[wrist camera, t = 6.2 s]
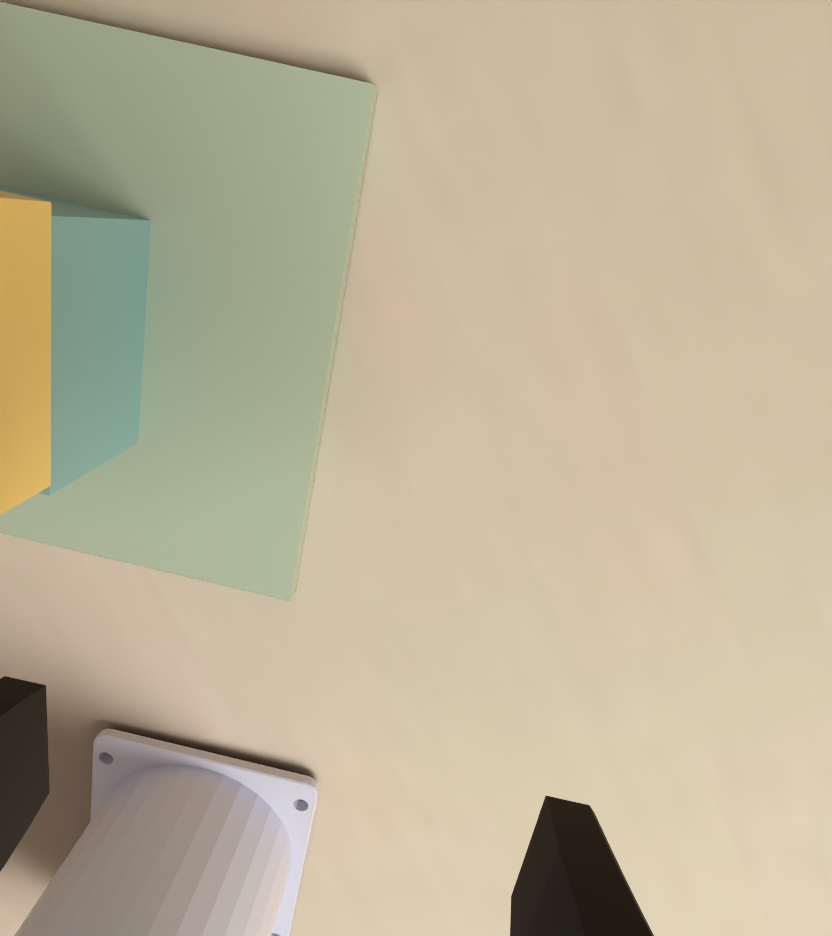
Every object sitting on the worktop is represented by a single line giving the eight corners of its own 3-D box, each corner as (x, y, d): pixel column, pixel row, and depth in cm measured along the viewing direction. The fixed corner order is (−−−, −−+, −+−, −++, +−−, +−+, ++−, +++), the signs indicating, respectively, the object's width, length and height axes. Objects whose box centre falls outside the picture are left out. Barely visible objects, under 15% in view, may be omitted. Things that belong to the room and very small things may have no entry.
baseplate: (295, 591, 20) (290, 601, 20) (-135, 490, 20) (-152, 497, 20) (377, 89, 15) (374, 83, 15) (-190, -36, 16) (-215, -46, 15)
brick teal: (138, 442, 18) (49, 495, 15) (2, 410, 18) (-121, 456, 15) (151, 220, 16) (51, 216, 12) (-3, 185, 16) (-149, 170, 13)
